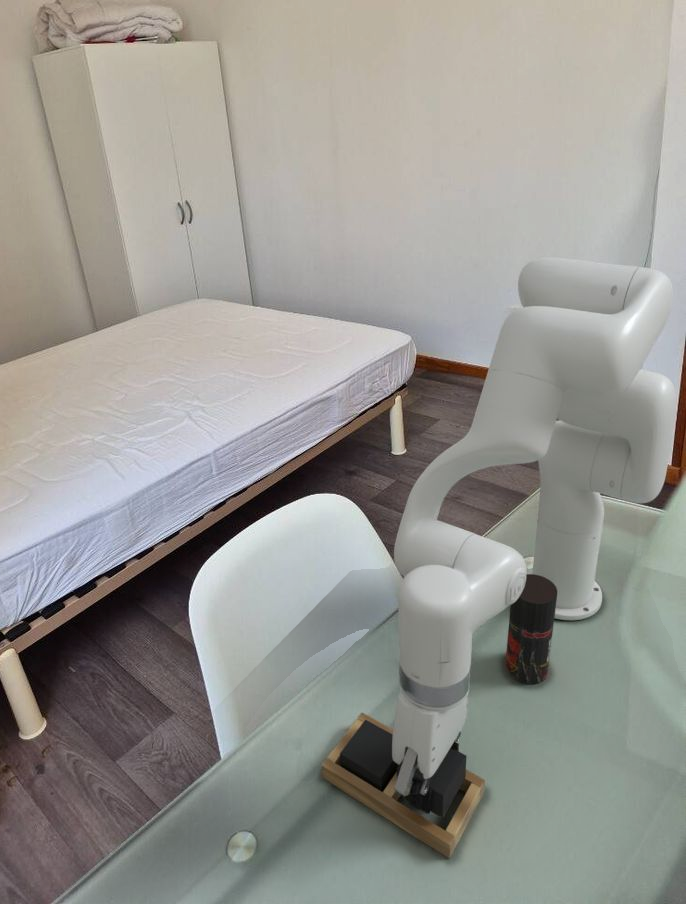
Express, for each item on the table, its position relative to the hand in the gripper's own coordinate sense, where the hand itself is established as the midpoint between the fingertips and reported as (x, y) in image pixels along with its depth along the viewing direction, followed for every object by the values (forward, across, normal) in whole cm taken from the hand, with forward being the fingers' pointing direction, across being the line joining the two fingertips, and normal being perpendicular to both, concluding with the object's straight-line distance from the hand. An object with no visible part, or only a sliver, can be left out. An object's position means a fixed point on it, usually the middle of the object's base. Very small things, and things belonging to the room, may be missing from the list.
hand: (431, 781), depth 81 cm
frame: (+4, 0, -4) cm, 6 cm away
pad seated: (+4, 0, -8) cm, 9 cm away
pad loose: (+1, 0, 0) cm, 1 cm away
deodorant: (+4, -26, +2) cm, 26 cm away
